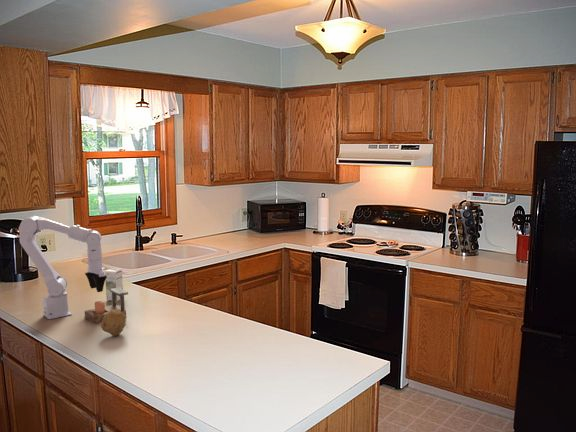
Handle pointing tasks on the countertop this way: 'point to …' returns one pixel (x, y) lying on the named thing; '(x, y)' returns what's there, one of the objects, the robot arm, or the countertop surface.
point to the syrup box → (113, 282)
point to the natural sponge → (113, 322)
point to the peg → (99, 307)
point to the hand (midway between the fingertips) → (96, 289)
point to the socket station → (108, 307)
